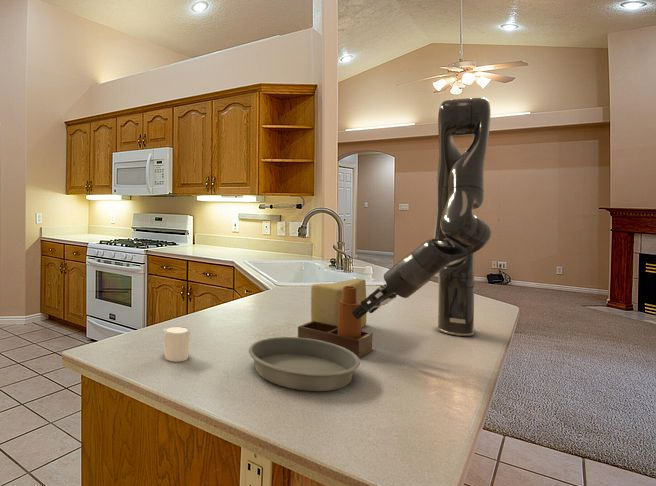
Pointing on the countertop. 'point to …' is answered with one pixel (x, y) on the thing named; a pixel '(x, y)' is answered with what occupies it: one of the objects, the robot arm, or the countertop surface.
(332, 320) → the cheese
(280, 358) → the cake pan
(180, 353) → the cream cylinder
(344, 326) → the bottle
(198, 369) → the countertop surface
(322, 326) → the holder
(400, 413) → the countertop surface
